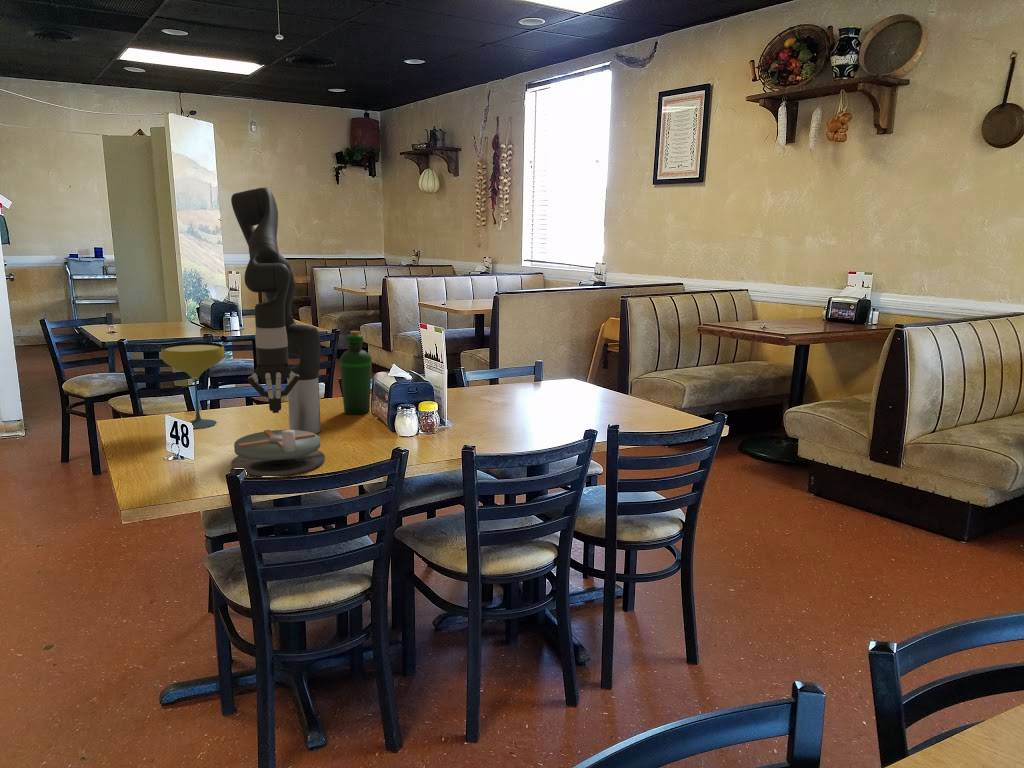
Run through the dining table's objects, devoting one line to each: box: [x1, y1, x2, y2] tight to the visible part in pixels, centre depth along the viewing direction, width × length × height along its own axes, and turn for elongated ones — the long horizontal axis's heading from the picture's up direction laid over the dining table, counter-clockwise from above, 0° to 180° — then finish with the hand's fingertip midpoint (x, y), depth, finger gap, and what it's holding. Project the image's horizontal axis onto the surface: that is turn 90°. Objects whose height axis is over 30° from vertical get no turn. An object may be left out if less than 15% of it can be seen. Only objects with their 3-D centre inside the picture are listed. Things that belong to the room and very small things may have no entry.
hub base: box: [230, 449, 326, 478], centre depth 197 cm, size 24×24×4 cm
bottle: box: [339, 330, 372, 416], centre depth 249 cm, size 11×11×28 cm
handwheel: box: [233, 429, 321, 460], centre depth 196 cm, size 22×22×7 cm
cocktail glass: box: [160, 341, 225, 430], centre depth 230 cm, size 18×18×25 cm
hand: (275, 412), depth 185 cm, fingers closed
